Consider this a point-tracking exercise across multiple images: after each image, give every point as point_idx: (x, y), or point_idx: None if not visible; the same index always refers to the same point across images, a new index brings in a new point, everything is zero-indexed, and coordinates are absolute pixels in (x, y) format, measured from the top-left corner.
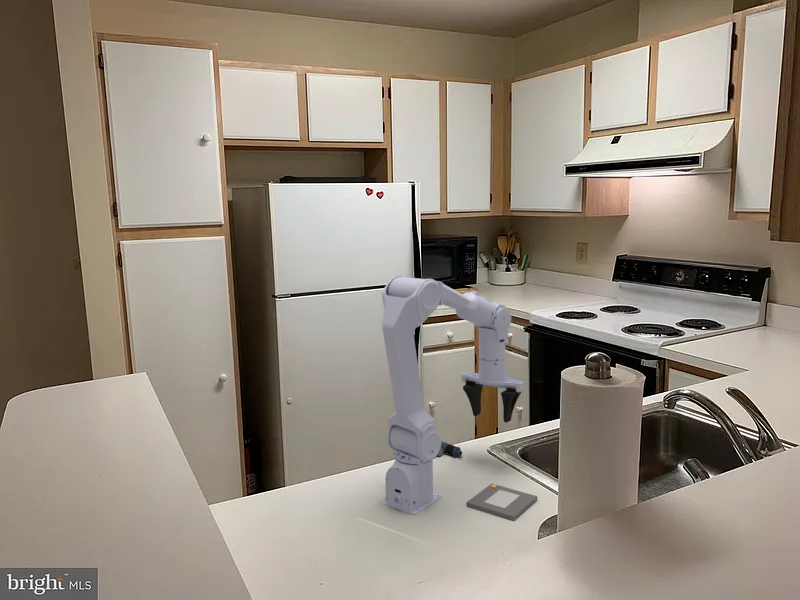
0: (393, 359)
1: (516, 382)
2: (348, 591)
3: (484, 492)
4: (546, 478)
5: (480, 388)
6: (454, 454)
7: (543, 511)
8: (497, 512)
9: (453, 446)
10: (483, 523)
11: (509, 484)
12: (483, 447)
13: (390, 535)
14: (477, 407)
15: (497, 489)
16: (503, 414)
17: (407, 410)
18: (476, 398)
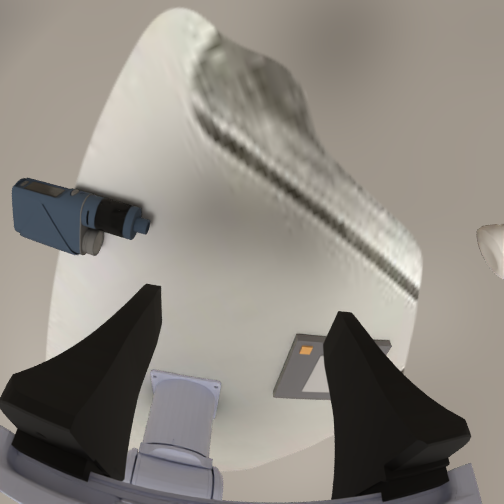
0: None
1: None
2: (233, 470)
3: (293, 369)
4: (412, 251)
5: (101, 408)
6: (134, 235)
7: (396, 362)
8: (328, 398)
9: (115, 229)
10: (311, 409)
11: (332, 310)
12: (176, 100)
13: (215, 440)
14: (148, 339)
15: (315, 354)
16: (328, 383)
17: None
18: (130, 388)
